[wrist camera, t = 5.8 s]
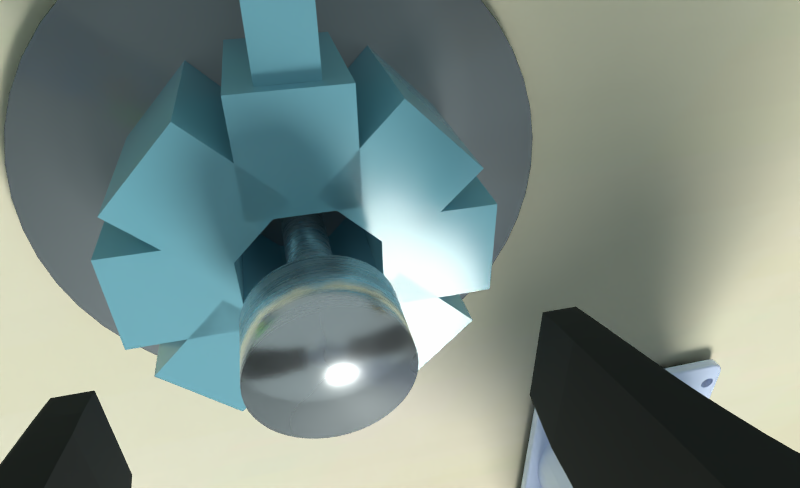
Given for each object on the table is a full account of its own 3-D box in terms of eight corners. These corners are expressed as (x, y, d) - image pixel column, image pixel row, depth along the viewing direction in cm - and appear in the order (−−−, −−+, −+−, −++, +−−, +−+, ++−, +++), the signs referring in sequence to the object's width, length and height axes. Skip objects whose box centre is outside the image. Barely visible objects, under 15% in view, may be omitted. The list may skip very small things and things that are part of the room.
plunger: (358, 239, 16) (418, 419, 11) (247, 255, 15) (255, 452, 10) (352, 137, 14) (418, 295, 9) (226, 151, 14) (224, 327, 9)
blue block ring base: (505, 328, 20) (557, 419, 17) (106, 401, 18) (79, 522, 15) (557, -123, 13) (667, -115, 10) (-116, -104, 10) (-272, -85, 7)
